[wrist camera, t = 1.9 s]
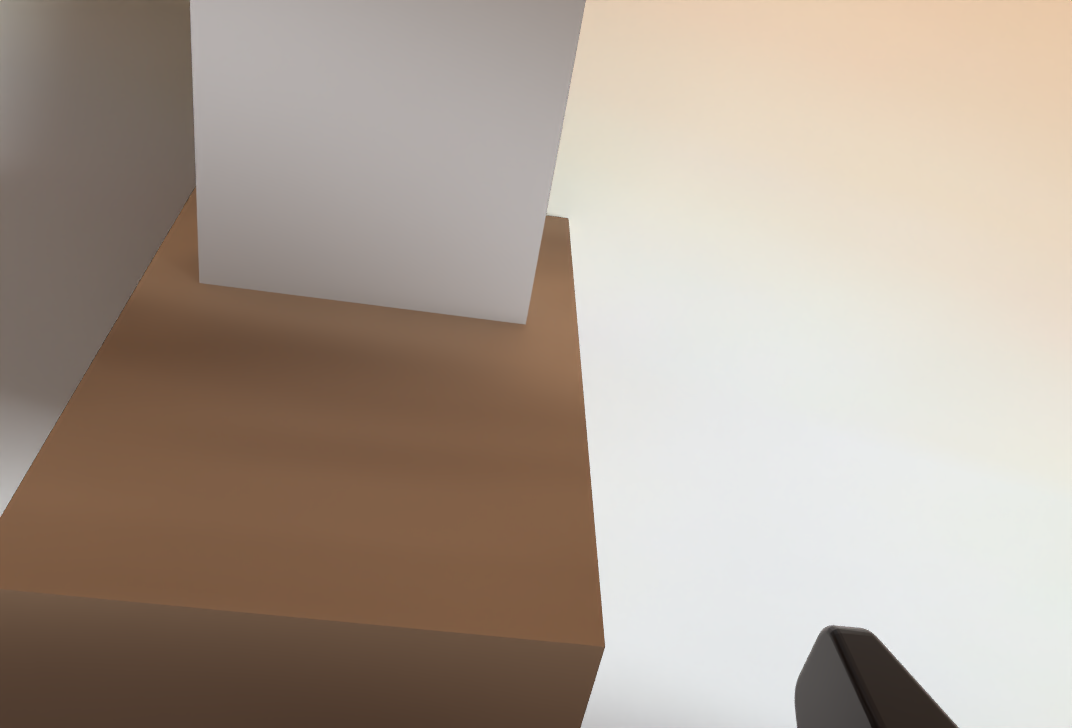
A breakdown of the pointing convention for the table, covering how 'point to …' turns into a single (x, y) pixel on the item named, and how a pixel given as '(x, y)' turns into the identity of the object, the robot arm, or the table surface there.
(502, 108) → the brown grey l-shaped block
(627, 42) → the table surface
